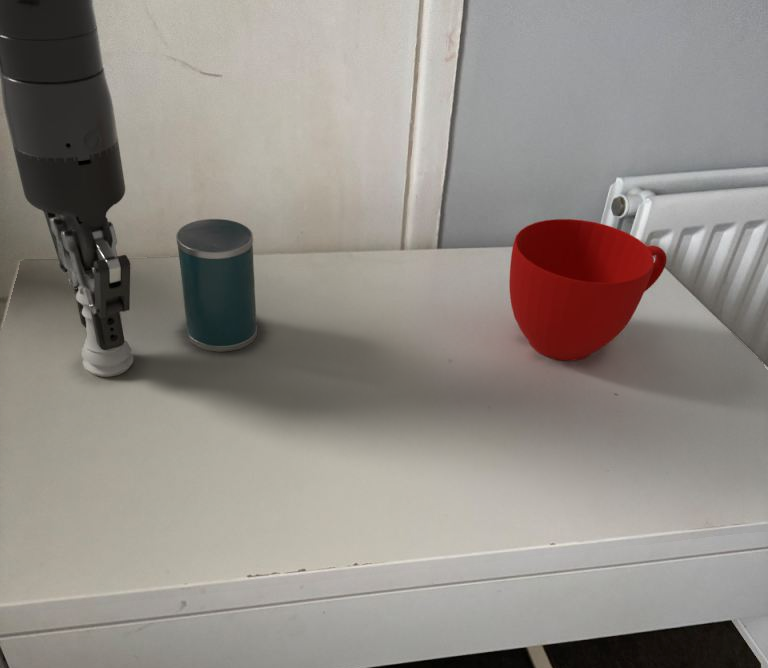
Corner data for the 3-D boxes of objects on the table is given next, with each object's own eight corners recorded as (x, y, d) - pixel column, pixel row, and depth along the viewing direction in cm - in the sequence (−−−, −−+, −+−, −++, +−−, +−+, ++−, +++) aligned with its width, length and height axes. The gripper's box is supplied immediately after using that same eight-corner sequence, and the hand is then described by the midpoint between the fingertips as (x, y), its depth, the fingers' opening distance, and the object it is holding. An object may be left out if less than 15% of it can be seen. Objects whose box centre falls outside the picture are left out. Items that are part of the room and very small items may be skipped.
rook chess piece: (82, 354, 77) (64, 274, 71) (132, 349, 78) (118, 270, 72) (84, 381, 74) (66, 300, 68) (136, 375, 75) (123, 295, 69)
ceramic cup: (683, 357, 83) (717, 264, 76) (542, 391, 77) (565, 293, 70) (606, 295, 92) (630, 206, 85) (473, 321, 86) (488, 228, 79)
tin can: (174, 342, 79) (162, 243, 72) (206, 309, 84) (197, 213, 77) (239, 358, 78) (233, 258, 71) (268, 323, 83) (264, 227, 76)
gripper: (-16, 111, 64) (34, 309, 76) (45, 177, 56) (91, 388, 68) (80, 98, 68) (114, 290, 79) (151, 159, 60) (176, 363, 71)
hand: (103, 334), depth 74 cm, fingers closed on rook chess piece, 3 cm apart
